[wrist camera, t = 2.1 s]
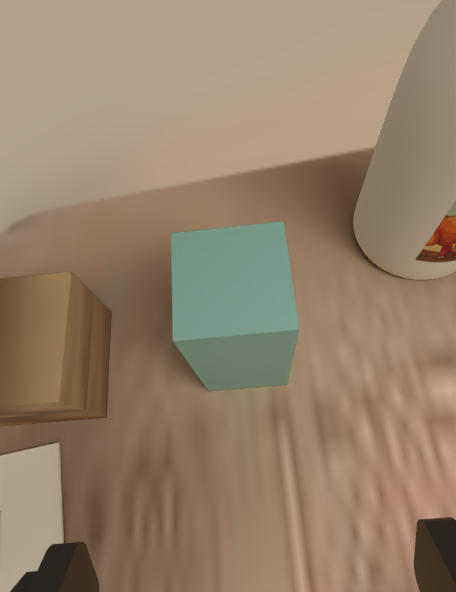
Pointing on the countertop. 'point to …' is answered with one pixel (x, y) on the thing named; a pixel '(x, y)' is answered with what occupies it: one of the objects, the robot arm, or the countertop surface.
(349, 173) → the countertop surface
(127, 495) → the countertop surface
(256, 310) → the teal brick
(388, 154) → the milk bottle
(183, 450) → the countertop surface
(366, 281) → the countertop surface
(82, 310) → the tower base
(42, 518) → the page
